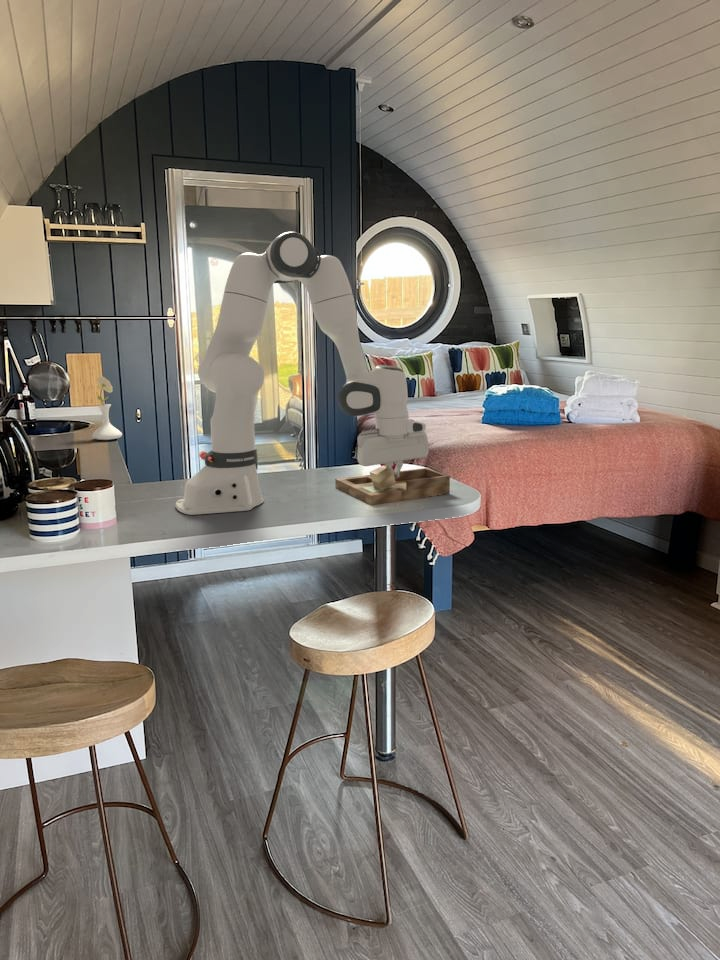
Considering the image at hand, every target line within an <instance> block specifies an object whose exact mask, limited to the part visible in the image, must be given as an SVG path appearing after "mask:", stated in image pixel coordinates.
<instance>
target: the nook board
mask: <svg viewBox="0 0 720 960" xmlns="http://www.w3.org/2000/svg"><path fill="white" fill-rule="evenodd" d="M399 473H400V477H399V478H395V481H396V484H394V485H392V486H390V487H388V488H386V489H384V490H380V489H377V488H375V487H374V486H373V482H372V479H371V476H370V474H366V475H358V476H357V475H356V476H350V477H340V478H335V482H334V483H335V488H336V489H338V490H340V491H342V492H343V493H345V494H348V495H350V496H352V497H354V498H356V499H358V500H360V501H363V502H364V503H366V504H368V505H371V506H372V505H381V504H387V503H395V502H401V501H410V500H415V499H422V498H423V497H424V498H430V497H429V496H432V497H438V496H437V495H439V496H444V495H443V494H446V495H449V494H448V493H450V494H451V491H450V488H451V487H450V486H451V475H448V474H445V473H442V472H439V471H437V470H433V469H431V468H428V467H424V468H423V467H422V468H416V469H408V470H400V471H399ZM424 498H423V499H424Z"/></svg>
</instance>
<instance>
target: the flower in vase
mask: <svg viewBox="0 0 720 960" xmlns="http://www.w3.org/2000/svg"><path fill="white" fill-rule="evenodd" d="M96 380H97V384H98V385H99V386H100V387H101V389H100V394H98V395H97V400H98V401H99V400H100V401H101V402H102V404H98V405H97V406H98V407H99V409H100V411H101V414H102V424H101V425H100V426H99V427H98V428H97V429H96V430H95V431H94V432H93V433H92V434H91V435H92V437H91V438H93V439H95V440H99V441H111V440H115V439H119V438H121V437H122V436H123V433H122V432H121V431H120V430H119V429H118V428H116V427H115V426H114V425H113V424H112V423H110V419H109V417H110V416H109V415H110V414H109V413H110V412H109V411H110V409H111V406H112V404H110V403H104V401H106V400H107V399H109V395H107V397H105V398H104V399H102V392H103V390H104V391H105V392H107V393H109V394H111V393H112V392H113V391H114V390H113V389H114V387H113V386H112V384H111V381H110V380H108V379H107V378H105V376H101V375H99V376H98V377H97V378H96Z"/></svg>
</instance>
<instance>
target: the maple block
mask: <svg viewBox="0 0 720 960" xmlns="http://www.w3.org/2000/svg"><path fill="white" fill-rule="evenodd" d="M369 475H370V476H371V479H372V482H373V486H374V487H375V488H377V489H380V490H384V489H386V488H388V487H390V486H392V485H394V484H396V481H395V478H394V474H393V471H392V468H389V467H386V466H384V465H383V466H381V465H380V467H377V468H375V469H372V470H371V471H369Z"/></svg>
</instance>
